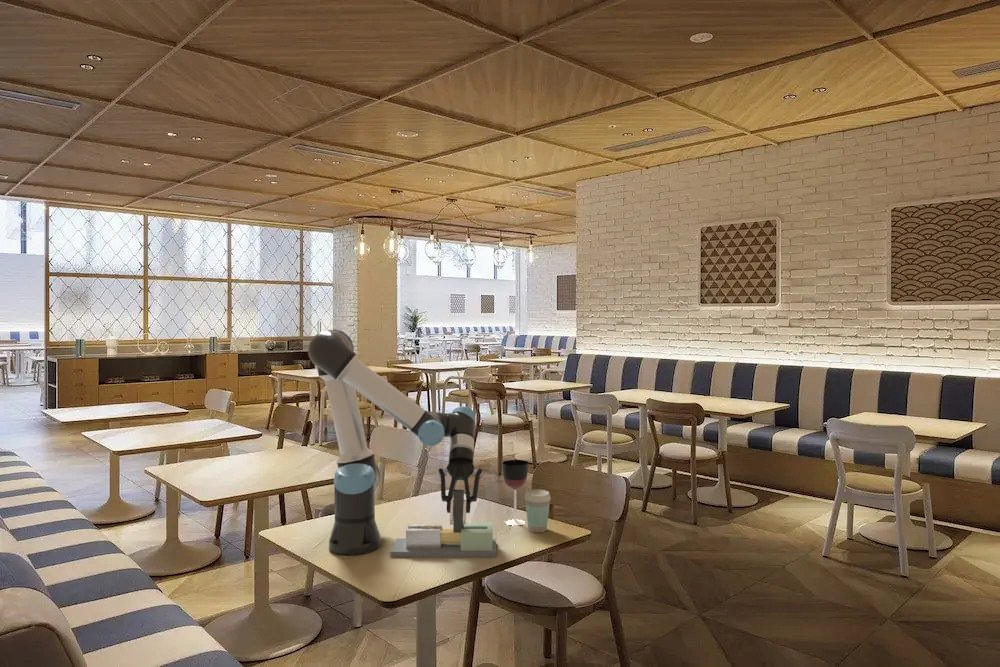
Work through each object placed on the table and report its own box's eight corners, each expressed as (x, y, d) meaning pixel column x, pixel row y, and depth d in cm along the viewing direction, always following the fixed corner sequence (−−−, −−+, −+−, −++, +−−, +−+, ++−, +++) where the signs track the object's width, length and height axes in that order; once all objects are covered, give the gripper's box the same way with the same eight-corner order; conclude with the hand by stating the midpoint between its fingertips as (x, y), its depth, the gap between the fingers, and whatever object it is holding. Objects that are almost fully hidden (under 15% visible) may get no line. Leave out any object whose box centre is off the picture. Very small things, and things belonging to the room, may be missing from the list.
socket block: (460, 550, 191) (460, 532, 190) (462, 539, 199) (462, 522, 199) (492, 550, 191) (492, 532, 190) (492, 539, 199) (492, 522, 199)
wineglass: (498, 520, 222) (498, 461, 221) (522, 517, 225) (522, 458, 224) (507, 528, 215) (507, 466, 214) (532, 524, 218) (532, 464, 217)
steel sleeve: (405, 548, 193) (405, 530, 192) (408, 541, 198) (408, 524, 198) (440, 548, 192) (440, 530, 192) (442, 541, 198) (442, 524, 197)
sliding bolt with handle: (420, 543, 193) (420, 491, 193) (421, 539, 197) (421, 488, 196) (468, 543, 193) (468, 491, 193) (469, 539, 197) (469, 488, 196)
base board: (390, 557, 190) (390, 551, 190) (396, 543, 201) (396, 538, 201) (495, 557, 189) (495, 552, 189) (496, 543, 200) (496, 538, 200)
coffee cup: (551, 525, 217) (551, 489, 216) (550, 534, 208) (550, 496, 208) (524, 525, 218) (524, 488, 217) (523, 533, 209) (523, 496, 209)
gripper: (487, 458, 210) (486, 528, 194) (436, 458, 210) (430, 528, 194) (487, 445, 204) (485, 516, 188) (434, 445, 204) (428, 516, 188)
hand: (457, 522), depth 191 cm, fingers closed on sliding bolt with handle, 3 cm apart
